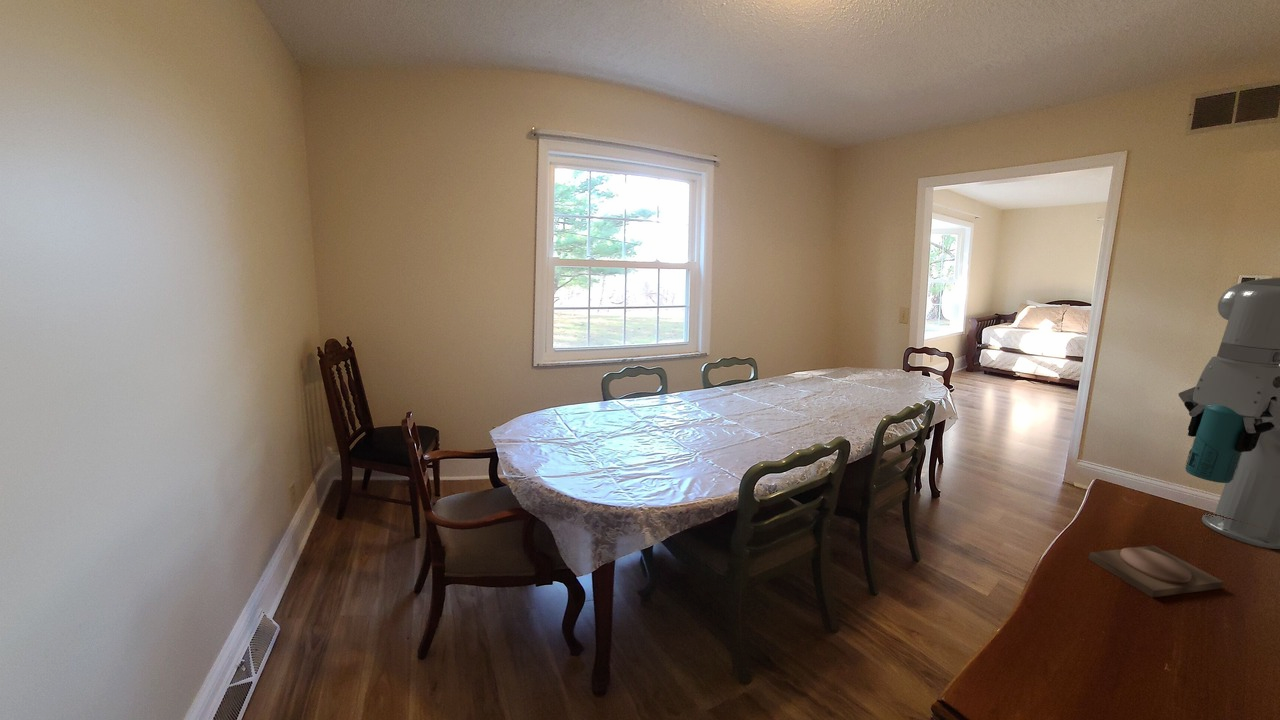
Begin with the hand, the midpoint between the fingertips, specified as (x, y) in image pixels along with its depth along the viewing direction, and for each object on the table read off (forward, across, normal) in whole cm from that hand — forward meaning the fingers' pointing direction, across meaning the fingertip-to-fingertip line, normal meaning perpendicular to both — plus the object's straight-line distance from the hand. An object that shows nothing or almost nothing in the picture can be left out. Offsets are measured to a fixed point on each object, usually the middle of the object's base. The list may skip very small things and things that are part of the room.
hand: (1218, 442), depth 95 cm
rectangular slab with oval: (+25, -4, +14) cm, 29 cm away
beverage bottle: (+9, 0, 0) cm, 9 cm away
